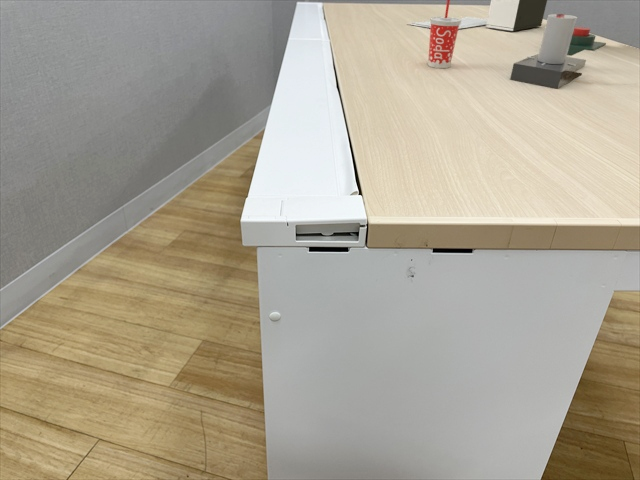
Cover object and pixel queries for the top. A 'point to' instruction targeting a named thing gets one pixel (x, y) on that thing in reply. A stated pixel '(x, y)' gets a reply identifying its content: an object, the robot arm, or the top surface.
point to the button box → (583, 44)
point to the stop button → (581, 31)
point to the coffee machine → (506, 15)
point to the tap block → (546, 71)
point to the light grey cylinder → (556, 38)
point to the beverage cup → (442, 40)
